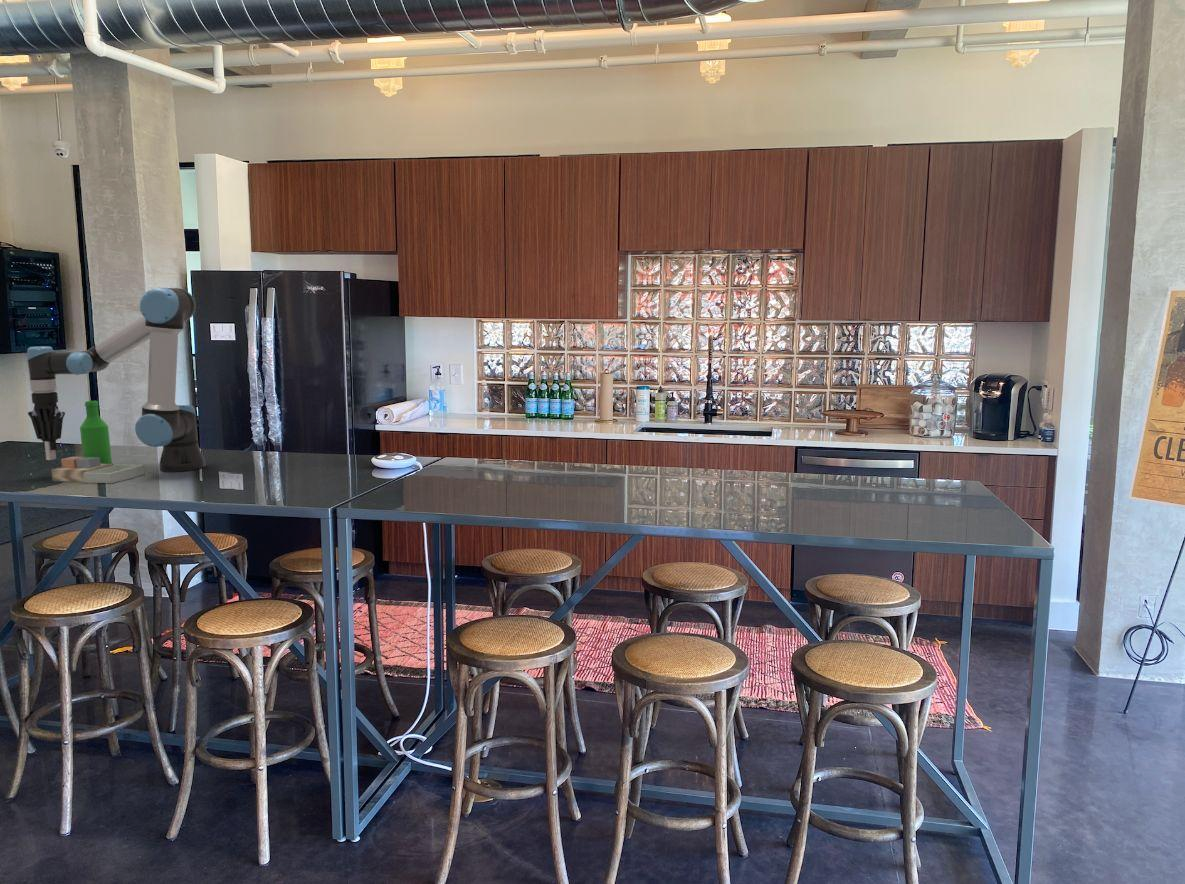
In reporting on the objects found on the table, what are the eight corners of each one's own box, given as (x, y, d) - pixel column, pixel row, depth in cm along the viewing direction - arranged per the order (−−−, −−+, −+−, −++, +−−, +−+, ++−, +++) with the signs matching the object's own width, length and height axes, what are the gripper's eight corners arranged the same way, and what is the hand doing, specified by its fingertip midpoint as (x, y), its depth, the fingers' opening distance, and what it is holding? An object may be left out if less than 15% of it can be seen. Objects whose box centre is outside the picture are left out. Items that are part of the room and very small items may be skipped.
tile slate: (100, 465, 298) (99, 457, 297) (89, 468, 293) (88, 459, 293) (88, 465, 299) (87, 456, 298) (77, 468, 294) (76, 459, 294)
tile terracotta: (85, 465, 299) (84, 456, 299) (74, 467, 294) (73, 459, 294) (73, 465, 300) (72, 456, 300) (62, 467, 295) (61, 459, 295)
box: (144, 474, 301) (143, 464, 301) (111, 483, 286) (110, 473, 285) (119, 474, 303) (117, 464, 303) (84, 483, 288) (83, 473, 287)
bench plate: (114, 475, 302) (113, 463, 301) (88, 482, 290) (86, 470, 289) (79, 474, 304) (78, 463, 304) (52, 481, 293) (51, 469, 292)
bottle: (103, 471, 310) (95, 402, 306) (79, 471, 310) (71, 402, 306) (117, 466, 318) (110, 399, 314) (94, 466, 319) (86, 399, 315)
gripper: (69, 390, 297) (75, 458, 301) (36, 390, 300) (44, 457, 303) (51, 393, 290) (58, 461, 294) (18, 392, 292) (26, 460, 296)
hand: (51, 459), depth 298 cm, fingers closed
